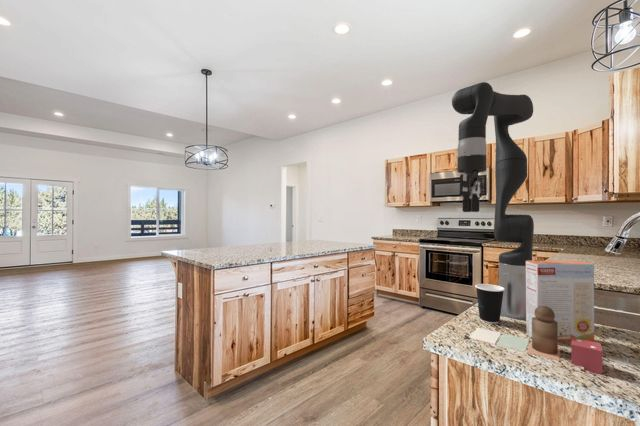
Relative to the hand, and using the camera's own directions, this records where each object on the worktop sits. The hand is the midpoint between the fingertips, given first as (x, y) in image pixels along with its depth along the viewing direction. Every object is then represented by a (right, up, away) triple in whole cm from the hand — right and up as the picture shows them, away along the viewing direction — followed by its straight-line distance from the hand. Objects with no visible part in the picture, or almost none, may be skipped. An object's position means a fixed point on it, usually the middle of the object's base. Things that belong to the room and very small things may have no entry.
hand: (471, 211), depth 86 cm
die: (+16, -35, -20) cm, 43 cm away
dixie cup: (+9, -34, +6) cm, 36 cm away
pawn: (+11, -34, -13) cm, 38 cm away
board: (+6, -34, -9) cm, 36 cm away
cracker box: (+21, -35, -6) cm, 41 cm away
